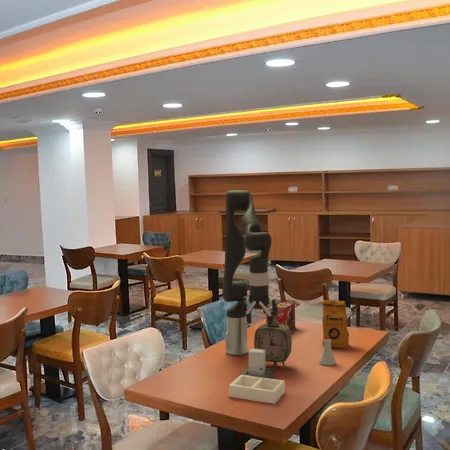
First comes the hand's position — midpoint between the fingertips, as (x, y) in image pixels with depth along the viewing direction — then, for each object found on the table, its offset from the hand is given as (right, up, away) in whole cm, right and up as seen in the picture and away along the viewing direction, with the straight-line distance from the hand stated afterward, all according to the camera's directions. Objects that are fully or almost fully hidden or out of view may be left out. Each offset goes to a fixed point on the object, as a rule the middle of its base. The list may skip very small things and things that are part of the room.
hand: (259, 324), depth 209 cm
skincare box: (-1, -23, +1) cm, 23 cm away
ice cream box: (+16, -17, +68) cm, 72 cm away
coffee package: (+38, -18, +41) cm, 59 cm away
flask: (+30, -21, +19) cm, 41 cm away
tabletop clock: (+7, -21, +16) cm, 28 cm away
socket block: (-1, -22, +1) cm, 22 cm away
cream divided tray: (-2, -24, -13) cm, 27 cm away
